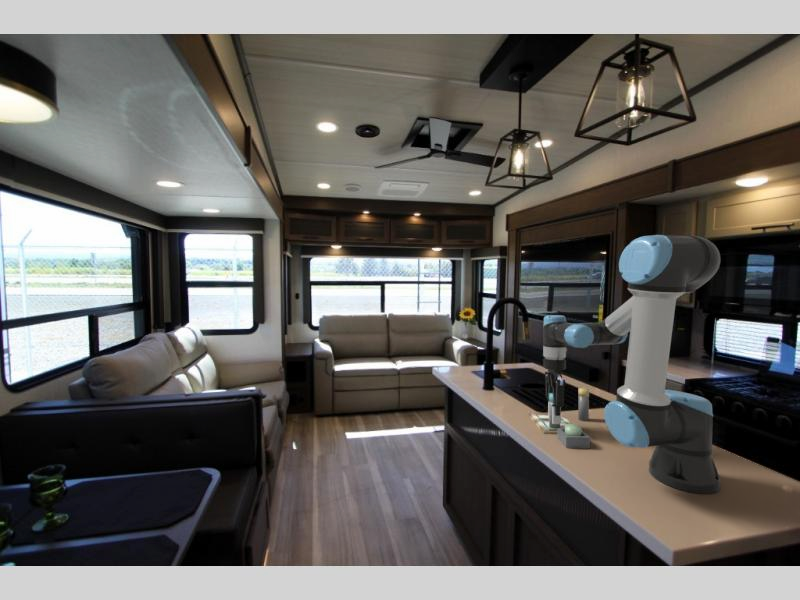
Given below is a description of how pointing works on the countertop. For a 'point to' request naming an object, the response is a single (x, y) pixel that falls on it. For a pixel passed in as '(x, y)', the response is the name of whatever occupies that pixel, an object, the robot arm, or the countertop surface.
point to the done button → (573, 430)
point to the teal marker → (551, 412)
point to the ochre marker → (583, 404)
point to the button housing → (573, 439)
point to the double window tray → (547, 422)
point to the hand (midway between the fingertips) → (554, 421)
